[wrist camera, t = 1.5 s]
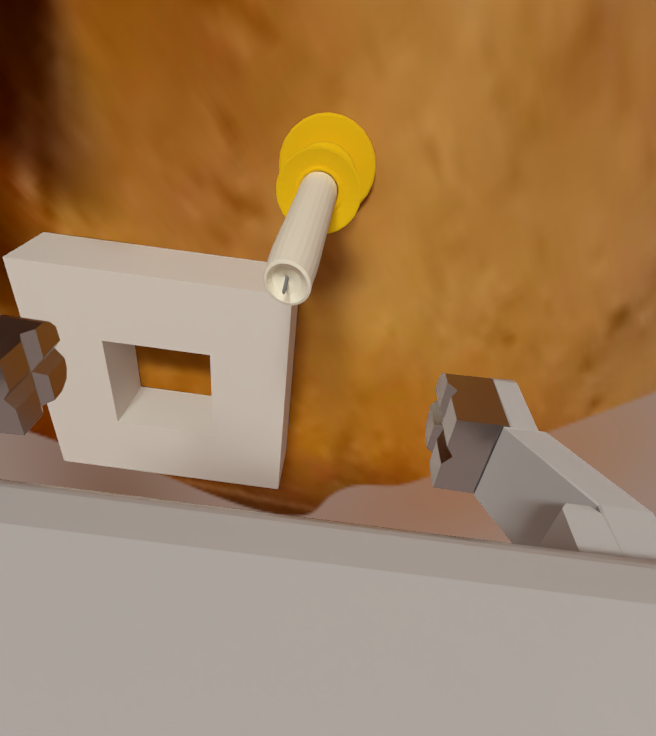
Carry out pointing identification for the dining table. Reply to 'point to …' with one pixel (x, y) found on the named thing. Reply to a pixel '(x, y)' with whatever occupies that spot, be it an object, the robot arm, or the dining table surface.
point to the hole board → (165, 331)
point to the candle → (315, 198)
